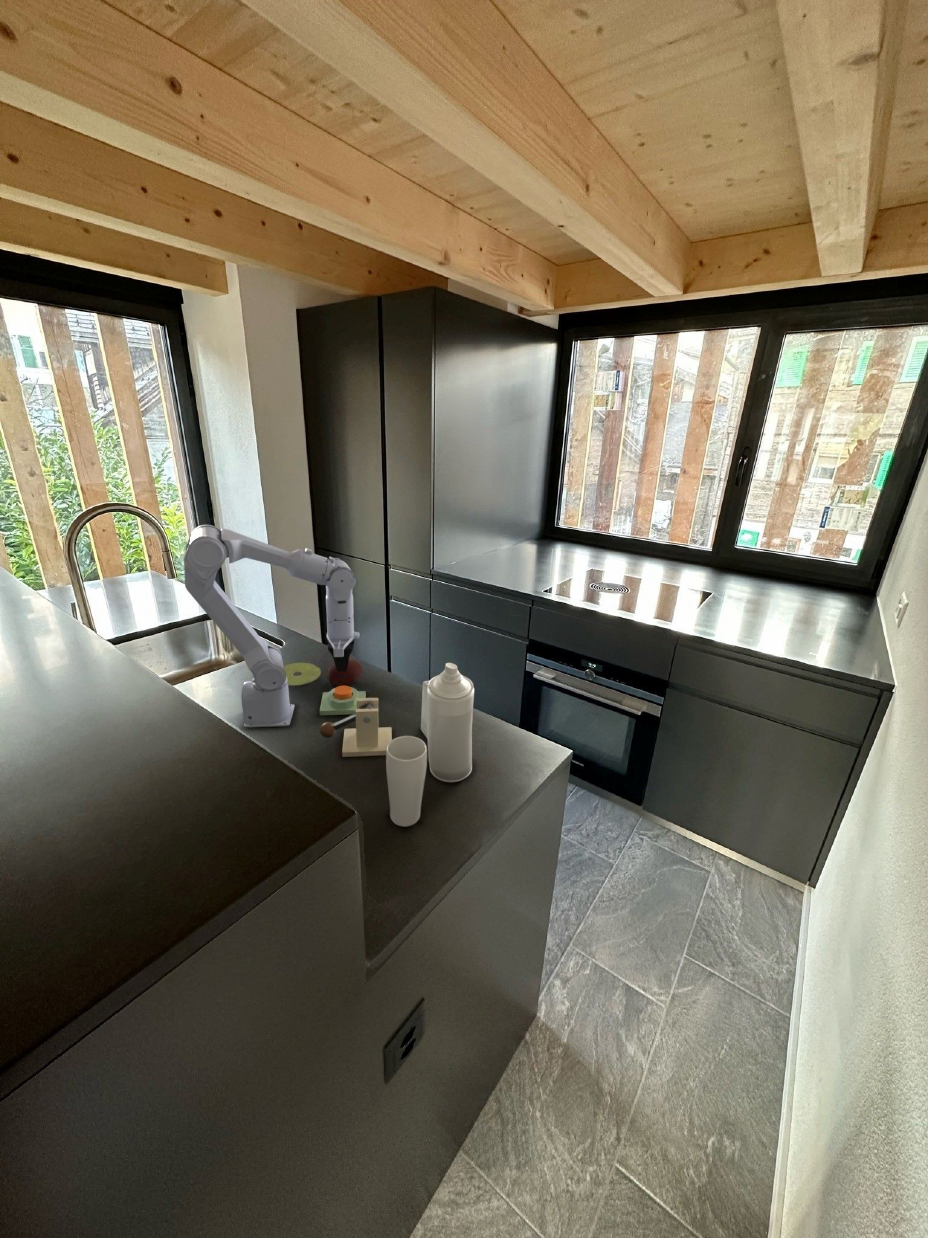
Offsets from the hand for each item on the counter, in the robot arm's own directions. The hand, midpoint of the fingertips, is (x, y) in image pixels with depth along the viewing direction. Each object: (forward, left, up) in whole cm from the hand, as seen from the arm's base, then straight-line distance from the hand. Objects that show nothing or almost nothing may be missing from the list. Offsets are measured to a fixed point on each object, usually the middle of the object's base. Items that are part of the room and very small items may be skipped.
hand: (342, 670), depth 117 cm
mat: (-12, +12, -10) cm, 19 cm away
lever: (+3, -15, -5) cm, 16 cm away
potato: (0, +10, -10) cm, 14 cm away
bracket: (+6, -15, -9) cm, 19 cm away
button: (0, 0, -7) cm, 7 cm away
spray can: (+22, -25, -10) cm, 35 cm away
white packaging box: (+22, -13, -10) cm, 27 cm away
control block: (0, 0, -9) cm, 9 cm away
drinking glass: (+13, -36, -10) cm, 39 cm away
